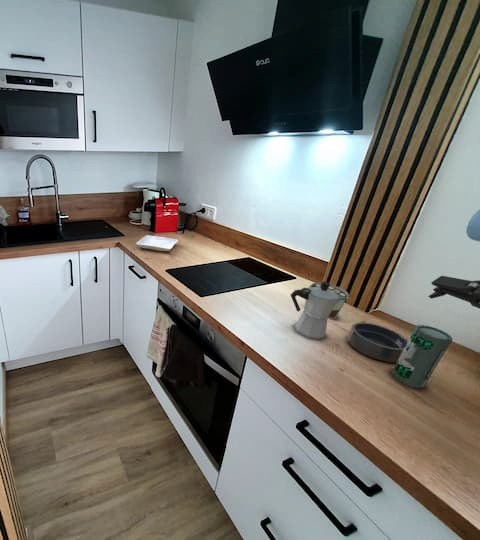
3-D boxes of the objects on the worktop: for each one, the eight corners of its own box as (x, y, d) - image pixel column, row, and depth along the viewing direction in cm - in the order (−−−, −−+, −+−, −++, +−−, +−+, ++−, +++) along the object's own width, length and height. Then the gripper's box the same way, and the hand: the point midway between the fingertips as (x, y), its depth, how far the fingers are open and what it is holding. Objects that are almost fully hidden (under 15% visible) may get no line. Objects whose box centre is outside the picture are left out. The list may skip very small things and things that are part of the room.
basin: (393, 342, 90) (399, 329, 88) (411, 369, 79) (419, 355, 77) (342, 331, 95) (347, 318, 93) (353, 355, 84) (359, 341, 82)
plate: (146, 239, 184) (146, 234, 183) (178, 244, 177) (179, 239, 175) (134, 248, 166) (135, 243, 165) (170, 254, 159) (170, 248, 157)
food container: (346, 316, 104) (356, 292, 100) (339, 321, 100) (349, 296, 96) (310, 302, 113) (318, 279, 109) (302, 306, 110) (310, 283, 106)
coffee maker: (325, 327, 97) (343, 279, 90) (336, 342, 89) (357, 292, 82) (277, 320, 100) (291, 273, 93) (284, 334, 92) (300, 285, 85)
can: (391, 367, 79) (415, 322, 73) (421, 378, 76) (449, 331, 70) (392, 380, 75) (418, 332, 69) (424, 392, 71) (454, 343, 65)
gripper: (438, 270, 57) (399, 286, 75) (597, 383, 46) (505, 370, 64) (476, 245, 55) (426, 268, 73) (651, 356, 44) (541, 350, 62)
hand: (463, 315), depth 69 cm, fingers open, 13 cm apart
